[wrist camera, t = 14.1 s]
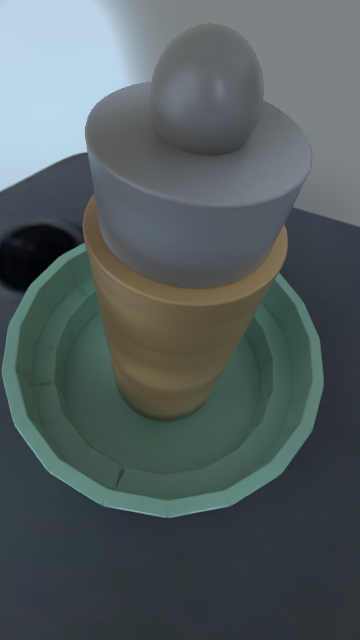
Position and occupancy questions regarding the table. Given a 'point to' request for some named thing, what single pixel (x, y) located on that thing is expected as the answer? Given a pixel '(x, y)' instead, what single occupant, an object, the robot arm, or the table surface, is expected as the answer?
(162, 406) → the pepper mill
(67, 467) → the green shallow bowl
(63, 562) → the table surface
